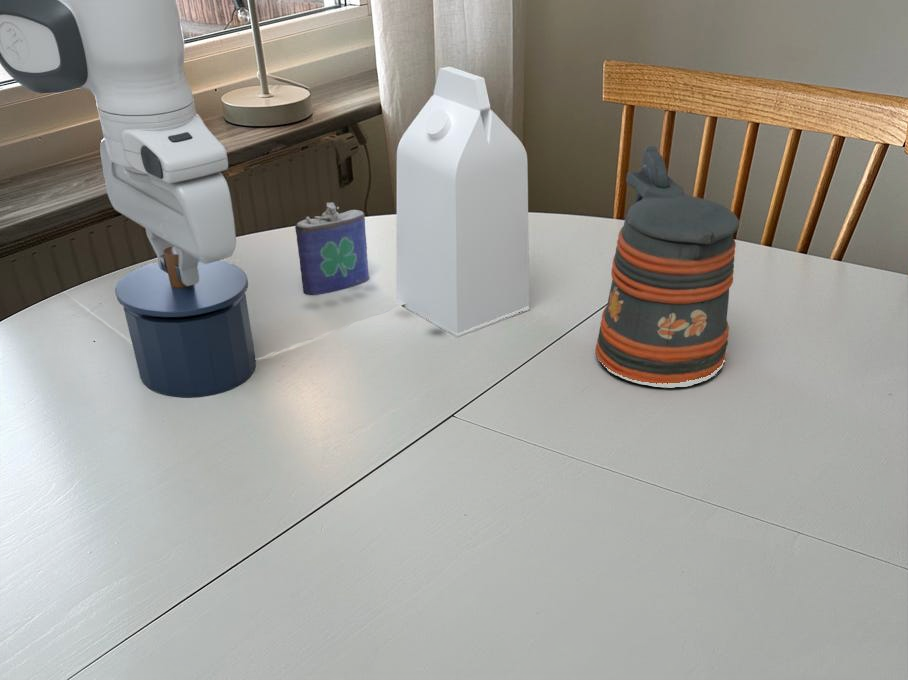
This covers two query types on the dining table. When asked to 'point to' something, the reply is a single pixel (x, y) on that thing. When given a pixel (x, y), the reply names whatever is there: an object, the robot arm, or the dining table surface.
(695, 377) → the beer stein
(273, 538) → the dining table surface
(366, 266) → the flask
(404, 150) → the milk
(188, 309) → the pot lid
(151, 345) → the pot
